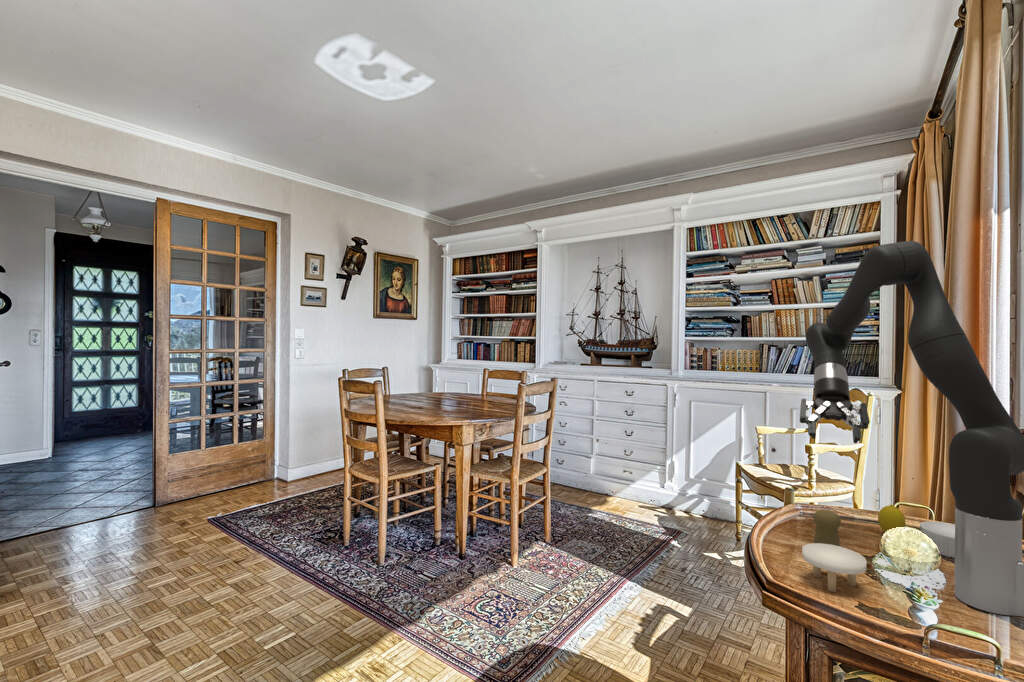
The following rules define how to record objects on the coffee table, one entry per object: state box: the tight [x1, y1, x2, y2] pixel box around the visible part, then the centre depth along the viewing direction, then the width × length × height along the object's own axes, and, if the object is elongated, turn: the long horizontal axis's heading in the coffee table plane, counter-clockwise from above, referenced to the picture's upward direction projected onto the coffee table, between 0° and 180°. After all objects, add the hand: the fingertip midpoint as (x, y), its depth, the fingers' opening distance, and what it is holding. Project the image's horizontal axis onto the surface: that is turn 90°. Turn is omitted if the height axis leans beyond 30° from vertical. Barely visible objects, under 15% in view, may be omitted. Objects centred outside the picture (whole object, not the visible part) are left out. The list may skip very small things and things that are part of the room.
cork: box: [813, 509, 842, 547], centre depth 112 cm, size 6×6×11 cm
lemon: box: [877, 504, 906, 532], centre depth 126 cm, size 6×6×8 cm
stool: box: [801, 542, 867, 593], centre depth 101 cm, size 11×11×6 cm
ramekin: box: [919, 520, 955, 559], centre depth 118 cm, size 11×11×5 cm
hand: (834, 439), depth 118 cm, fingers open, 8 cm apart
